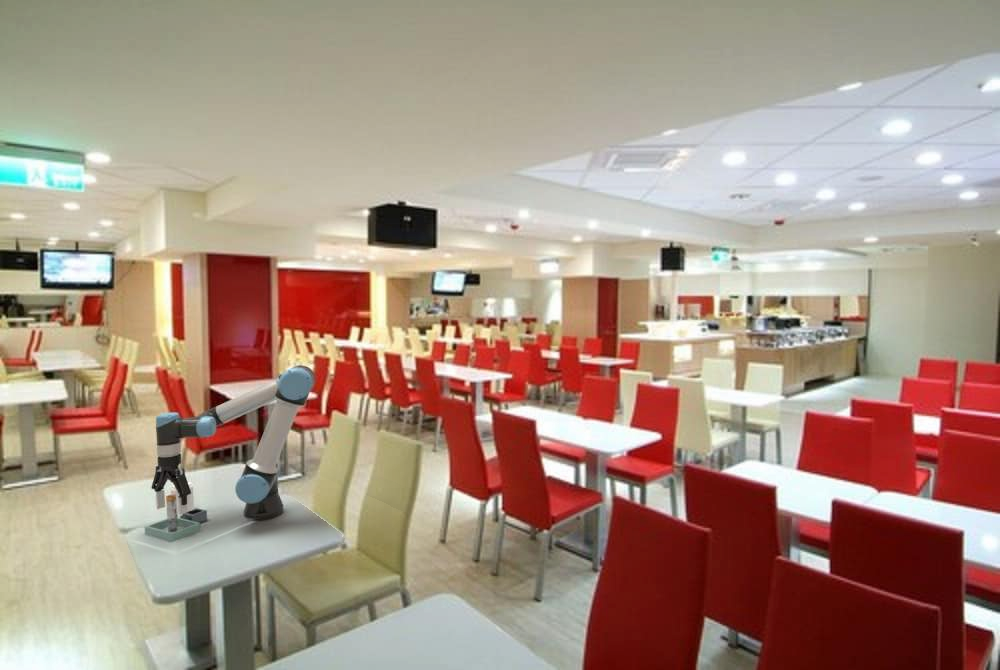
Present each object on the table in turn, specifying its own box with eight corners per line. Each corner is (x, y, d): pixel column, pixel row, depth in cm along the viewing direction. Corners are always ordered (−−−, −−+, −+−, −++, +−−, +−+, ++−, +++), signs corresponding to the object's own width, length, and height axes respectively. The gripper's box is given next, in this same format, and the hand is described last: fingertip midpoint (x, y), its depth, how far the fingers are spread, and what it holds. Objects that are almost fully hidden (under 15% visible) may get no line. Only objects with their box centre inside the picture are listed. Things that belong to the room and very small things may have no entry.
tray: (200, 532, 203) (200, 523, 203) (171, 544, 194) (171, 533, 194) (174, 526, 211) (173, 516, 211) (145, 536, 201) (144, 526, 201)
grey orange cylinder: (179, 531, 203) (177, 495, 202) (171, 534, 200) (169, 497, 199) (174, 530, 204) (172, 494, 204) (166, 533, 201) (164, 496, 201)
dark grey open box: (211, 522, 214) (210, 509, 214) (191, 529, 207) (191, 516, 206) (192, 517, 219) (191, 505, 219) (172, 524, 212) (171, 512, 212)
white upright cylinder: (198, 509, 229) (197, 481, 228) (185, 516, 221) (184, 487, 220) (180, 508, 230) (179, 481, 229) (167, 516, 221) (165, 487, 221)
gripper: (200, 455, 199) (202, 512, 199) (159, 449, 210) (161, 502, 211) (180, 460, 192) (182, 519, 193) (139, 453, 203) (141, 508, 204)
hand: (171, 510), depth 202 cm, fingers open, 13 cm apart
